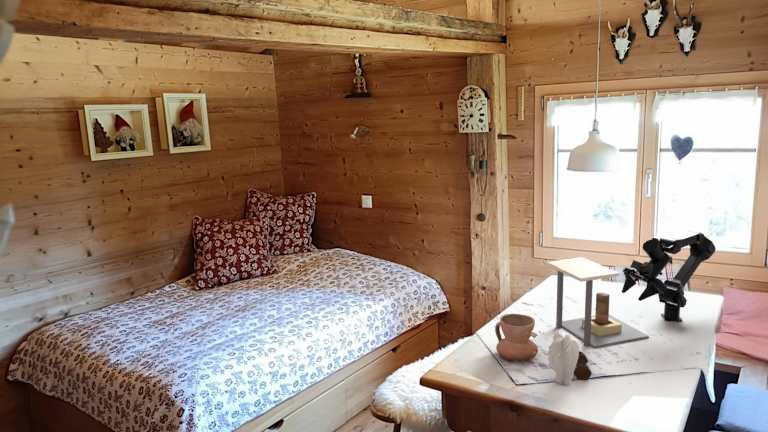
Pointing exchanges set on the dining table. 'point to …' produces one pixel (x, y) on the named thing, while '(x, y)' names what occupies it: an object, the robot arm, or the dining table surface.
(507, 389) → the dining table surface
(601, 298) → the walnut peg
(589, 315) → the socket stand
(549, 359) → the shell sculpture
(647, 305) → the dining table surface
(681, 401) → the dining table surface
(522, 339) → the ceramic jug
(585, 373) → the bolt
